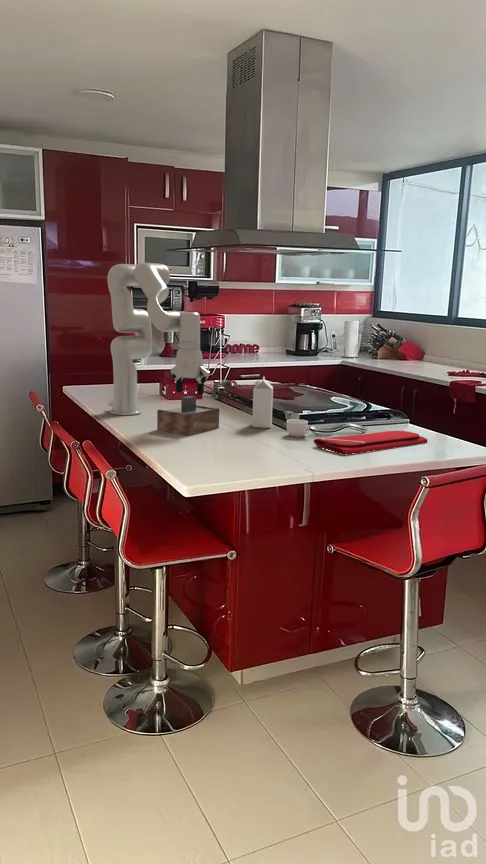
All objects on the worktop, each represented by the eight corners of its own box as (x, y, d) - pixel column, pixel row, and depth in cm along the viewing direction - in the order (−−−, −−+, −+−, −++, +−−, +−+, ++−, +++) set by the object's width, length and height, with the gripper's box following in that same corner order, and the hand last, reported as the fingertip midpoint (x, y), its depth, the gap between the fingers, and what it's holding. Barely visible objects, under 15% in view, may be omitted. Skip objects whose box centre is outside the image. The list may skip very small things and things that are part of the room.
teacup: (281, 435, 252) (282, 420, 251) (296, 432, 257) (297, 418, 256) (300, 440, 245) (301, 425, 243) (316, 437, 249) (316, 422, 248)
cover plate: (162, 413, 254) (162, 397, 253) (188, 408, 266) (188, 393, 265) (189, 418, 247) (189, 401, 246) (214, 412, 260) (214, 396, 258)
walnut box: (157, 429, 255) (157, 409, 253) (187, 422, 269) (187, 403, 268) (189, 435, 247) (189, 414, 245) (218, 428, 261) (219, 408, 260)
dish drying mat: (428, 444, 246) (429, 433, 245) (344, 457, 223) (345, 446, 222) (394, 436, 259) (395, 426, 258) (312, 447, 235) (312, 437, 234)
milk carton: (271, 424, 270) (273, 376, 266) (270, 428, 263) (272, 378, 260) (253, 424, 271) (255, 375, 267) (252, 427, 264) (253, 378, 260)
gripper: (164, 345, 253) (165, 392, 256) (202, 348, 244) (202, 396, 247) (177, 345, 259) (177, 390, 263) (215, 347, 250) (214, 394, 253)
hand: (189, 393), depth 255 cm, fingers open, 9 cm apart
